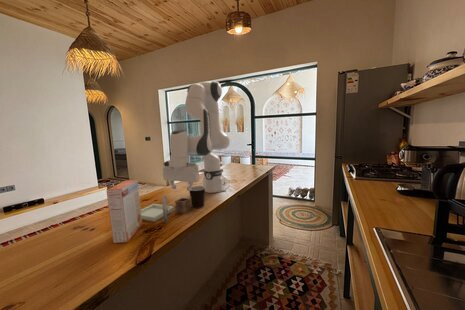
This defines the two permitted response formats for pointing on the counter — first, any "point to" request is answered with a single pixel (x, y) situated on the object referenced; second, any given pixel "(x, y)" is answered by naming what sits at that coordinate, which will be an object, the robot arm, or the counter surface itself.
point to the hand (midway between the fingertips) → (181, 189)
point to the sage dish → (154, 212)
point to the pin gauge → (165, 209)
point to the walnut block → (183, 205)
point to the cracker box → (124, 210)
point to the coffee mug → (197, 196)
